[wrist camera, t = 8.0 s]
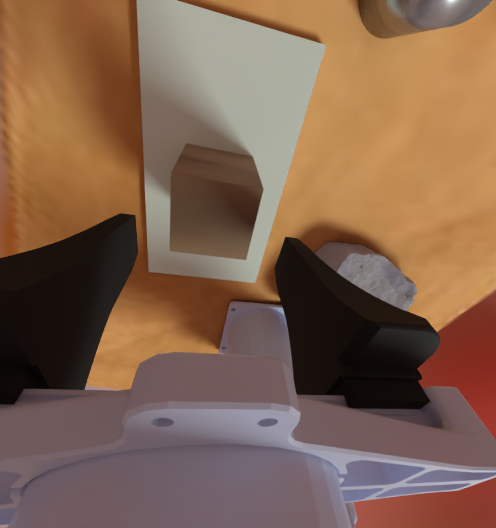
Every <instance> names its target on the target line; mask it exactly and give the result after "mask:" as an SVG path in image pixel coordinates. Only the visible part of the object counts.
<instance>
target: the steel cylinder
mask: <svg viewBox="0 0 496 528" xmlns="http://www.w3.org/2000/svg"><path fill="white" fill-rule="evenodd" d="M491 1H492V0H359V10H360V16H361V19H362V22H363V24H364V26H365V28H366V29H367V30H368V31H369V32H370V33H371V34H372V35H373V36H375V37H378V38H383V39H387V38H393V37H398V36H403V35H408V34H413V33H419V32H424V31H429V30H434V29H439V28H444V27H449V26H454V25H458V24H461V23H463V22H465V21H467V20H469V19H470V18H472V17H474V16H475V15H476V14H478V13H479V12H480V11H482V10H483V9H484V8H485V7H486V6H487V5H488V4H489V3H490V2H491Z"/></svg>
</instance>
